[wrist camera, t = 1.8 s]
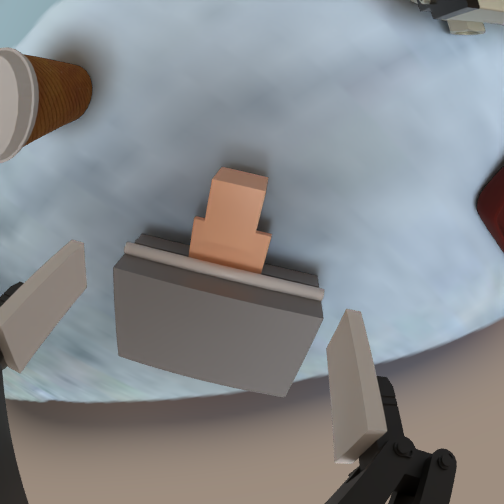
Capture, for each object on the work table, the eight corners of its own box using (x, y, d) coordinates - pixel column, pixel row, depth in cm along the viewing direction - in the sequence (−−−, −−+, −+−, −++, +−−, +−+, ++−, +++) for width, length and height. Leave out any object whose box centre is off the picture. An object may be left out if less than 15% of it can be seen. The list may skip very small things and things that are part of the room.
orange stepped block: (243, 334, 35) (239, 360, 31) (181, 319, 35) (171, 343, 31) (285, 181, 27) (286, 196, 23) (204, 163, 26) (192, 174, 23)
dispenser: (285, 353, 39) (284, 397, 33) (139, 317, 39) (118, 355, 33) (320, 267, 33) (327, 309, 27) (142, 225, 32) (113, 257, 26)
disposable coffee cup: (120, 103, 27) (40, 119, 16) (59, 152, 29) (-19, 188, 19) (84, 32, 23) (1, 22, 12) (27, 86, 26) (-54, 102, 15)
